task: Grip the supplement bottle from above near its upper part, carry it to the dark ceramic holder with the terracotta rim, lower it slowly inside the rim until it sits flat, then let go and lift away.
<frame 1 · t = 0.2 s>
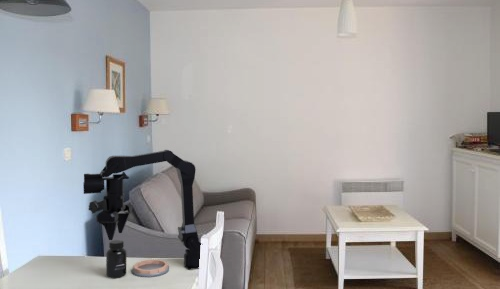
hand: (115, 236, 151), 14 cm above the table, tool pointing down, fingers open, 9 cm apart
supplement bottle: (116, 275, 152), on the table
bottle holder: (150, 270, 157), on the table
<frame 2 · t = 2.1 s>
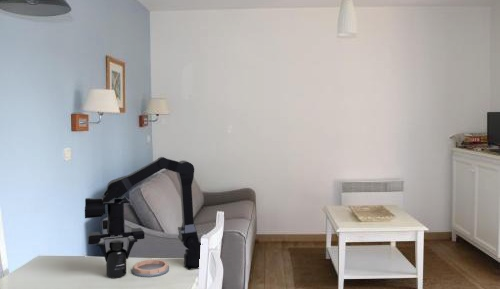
hand: (116, 259, 152), 6 cm above the table, tool pointing down, fingers closed on supplement bottle, 7 cm apart
supplement bottle: (116, 275, 152), on the table, touching gripper
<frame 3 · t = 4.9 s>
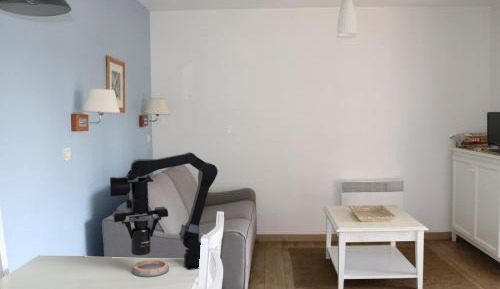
hand: (141, 237, 155), 13 cm above the table, tool pointing down, fingers closed on supplement bottle, 7 cm apart
supplement bottle: (141, 253, 155), point 7 cm above the table, touching gripper
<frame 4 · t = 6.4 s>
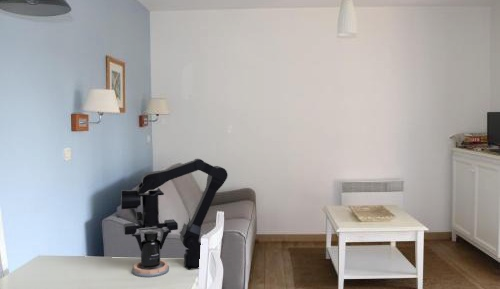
hand: (151, 250, 156), 8 cm above the table, tool pointing down, fingers closed on supplement bottle, 7 cm apart
supplement bottle: (150, 265, 157), point 2 cm above the table, touching gripper
when the fingers open (7 cm above the table, at t = 7.8 s): supplement bottle stays where it is, resting on bottle holder.
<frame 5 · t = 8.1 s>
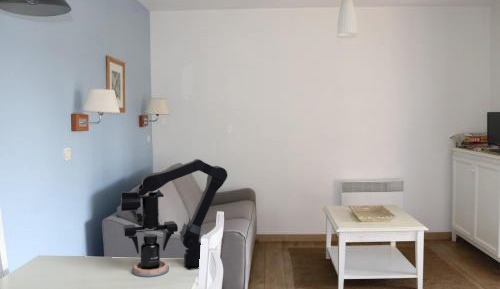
hand: (150, 251, 156), 7 cm above the table, tool pointing down, fingers open, 9 cm apart
supplement bottle: (150, 268, 157), point 1 cm above the table, touching bottle holder
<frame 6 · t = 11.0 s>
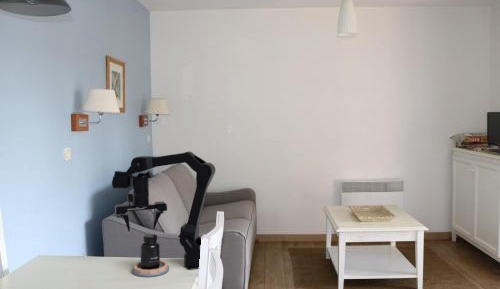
hand: (141, 230, 164), 13 cm above the table, tool pointing down, fingers open, 9 cm apart
nothing on the table moved.
at the end: supplement bottle 0.2 cm off-centre on the bottle holder, point 0.8 cm above the bottle holder's base; supplement bottle tilted 0°; the gripper is holding nothing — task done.
